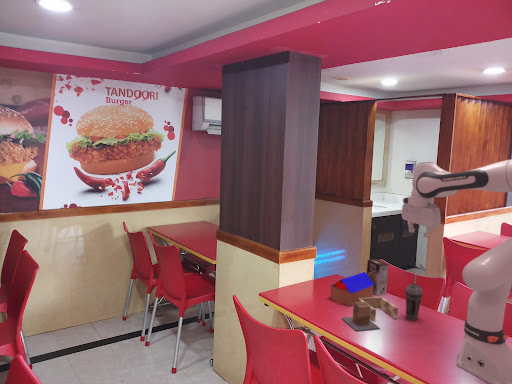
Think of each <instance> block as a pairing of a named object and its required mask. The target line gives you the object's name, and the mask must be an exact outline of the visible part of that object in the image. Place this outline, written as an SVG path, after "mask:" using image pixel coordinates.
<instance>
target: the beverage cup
mask: <svg viewBox="0 0 512 384" xmlns="http://www.w3.org/2000/svg"><path fill="white" fill-rule="evenodd" d="M414 275H415V276H414V283H411V284H408V286H406V288H405V291H404V293H405V305H406V306H405V318H406V319H408V320H410V321H417V320H418V316H419V312H420V306H421V301H422V298H423V289H422V287H421V286H420V285H419V284H417V283H416V282H417V273H415V274H414Z"/></svg>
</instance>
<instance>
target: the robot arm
mask: <svg viewBox="0 0 512 384" xmlns="http://www.w3.org/2000/svg"><path fill="white" fill-rule="evenodd" d="M411 185H412V190H411V192H410V196H409V195H408V196H407V197H403V199H402V203H403V204H402V207H401V218H402V220H404V221H407V226H408V232H409V233H415V230H416V229H415V227H414V224H417V225H419V226H422V227H423V226H424V227H425V230H426V231H425V232H423V237H424V238H426V239H428V238H430V237H431V236H430V235H431V234H432V231H433V230H434V229H440V227H441V222H442V221H441V208H440V207H439V206H438V205H437V204H434V203H435V198H444V197H445V198H446V197H451V196H454V195H456V194H457V193H458V191H463V190H476V191H484V192H492V193H493V192H497V193H512V159H511V158H510V159H507V160H506V159H505V160H501V161H498V162H494V163H491V164H488V165H484V166H481V167H477V168H474V169H470V170H466V171H460V172H453V173H452V172H450V171H447V170H445V169H443V168H441V167H440V166H439V165H437V163H436V162H430V161H427V162H419V163H417V164H416V165H415V167H414V169H413V173H412V182H411ZM461 274H462V280H463V282H464V284H465V285H466V286H467V287H468V288H469V289H471V290H472V292H471V295H470V297H469V299H468V305H467V314H466V320H465V321H464V325H463V327H464V328H463V331H464V335H463V339H462V343H461V347H460V350H459V352H458V353H457V357H456V358H457V362H456V365H457V366H458V367H459V368H461V369H462V370H465V371H466V372H468V373H470V374H472V375H474V376H475V377H477V378H479V379H481V380H483V381H485V382H486V383H488V384H512V349H511V348H510V347H509V345H508V343H507V342H506V341H507V339H509V337H510V335H505V331H504V328H503V324H504V317H505V310H506V306H507V302H508V298H509V296H510V293H511V289H512V236H510V237H508V239H506V240H505V241H503V242H500V243H499V244H498V245H496V246H494V247H492V248H491V249H489V250H487V251H485V252H484V253H482V254H481V255H479V256H477V257H475V258H474V259H472V260H470V261H469V262H468V263H467V264H465V266H464V268H463V269H462V273H461Z"/></svg>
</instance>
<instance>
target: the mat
mask: <svg viewBox="0 0 512 384" xmlns="http://www.w3.org/2000/svg"><path fill="white" fill-rule="evenodd" d="M352 319H353V316H348V317H345V316H344V317H342V318H341V320H342V321H344V322H345V323H346V324H347V325H348V327H350V328H351V329H352V330H353V331H355V332H365V331H376V330H380V329H381V327H380V326H378V325H377V324H376V323H375V322H374V321H372V320H371V319H370V320H369V325H362V326H358V325H357V324H356V323H355V322H353V321H352Z"/></svg>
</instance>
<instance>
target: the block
mask: <svg viewBox="0 0 512 384" xmlns="http://www.w3.org/2000/svg"><path fill="white" fill-rule="evenodd" d="M352 307H353V308H352V311H353V312H352V317H353V319H352V321H353V322H355V323H356V324H357V325H358V326H362V325H369V320H371V319H370V307H371V306H369V305H368V304H366V303H365V302H356V303H354V305H352Z"/></svg>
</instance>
